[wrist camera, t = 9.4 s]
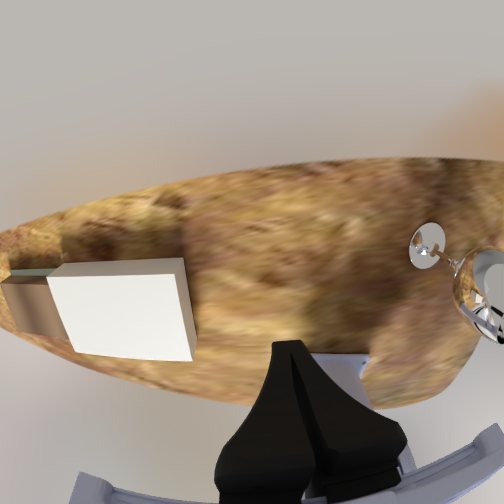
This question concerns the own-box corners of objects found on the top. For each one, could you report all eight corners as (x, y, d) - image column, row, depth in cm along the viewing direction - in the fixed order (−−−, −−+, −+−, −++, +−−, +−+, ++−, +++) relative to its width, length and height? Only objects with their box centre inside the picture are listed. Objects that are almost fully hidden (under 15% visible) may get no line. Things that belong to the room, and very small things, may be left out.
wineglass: (406, 284, 22) (483, 367, 11) (397, 228, 21) (498, 297, 9) (451, 261, 22) (532, 325, 11) (446, 206, 20) (546, 255, 9)
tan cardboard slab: (63, 275, 21) (52, 285, 19) (81, 328, 23) (73, 340, 21) (10, 275, 21) (-1, 283, 19) (27, 321, 23) (18, 331, 21)
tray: (183, 257, 21) (174, 273, 18) (197, 339, 24) (192, 361, 21) (63, 263, 21) (46, 277, 18) (87, 334, 24) (75, 352, 21)
